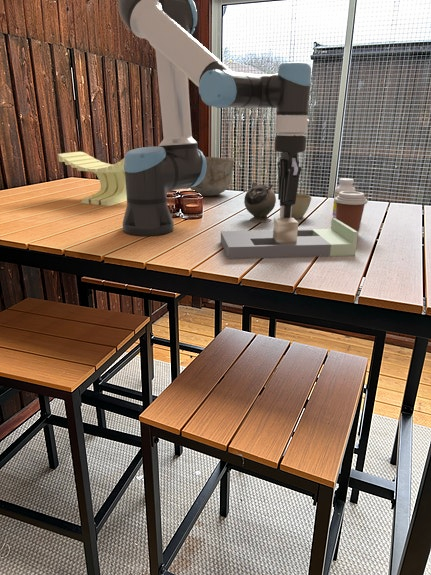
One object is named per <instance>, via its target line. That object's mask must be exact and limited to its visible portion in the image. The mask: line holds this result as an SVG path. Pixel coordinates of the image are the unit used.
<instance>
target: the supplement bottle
mask: <svg viewBox="0 0 431 575" xmlns="http://www.w3.org/2000/svg"><path fill="white" fill-rule="evenodd" d="M353 185H354V178H348V177H347V178H346V177H344V178H343V177H342V178H341V177H340V178H339V179H338V186H336V187H335V189H334V195H333V196H334V197H333V206H332V217H333V218H336V202H335V201H334V199H335V198H336V197H337V196H338V195H339V192H341V191H356V190H357V189H356V188H355V187H354V186H353ZM356 192H357V191H356Z"/></svg>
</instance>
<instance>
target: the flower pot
mask: <svg viewBox="0 0 431 575" xmlns="http://www.w3.org/2000/svg"><path fill="white" fill-rule="evenodd" d="M311 201H312V196H311V195H308V194H302V193H297V195H296V202H295V204H293V205H292V214H291V218H294V219H295V220H296V219H297V220H298V219H302V218H303V217H304V216H305V214H306V213H307V211H308V210H309V208H310V204H311Z"/></svg>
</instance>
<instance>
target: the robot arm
mask: <svg viewBox="0 0 431 575" xmlns="http://www.w3.org/2000/svg"><path fill="white" fill-rule="evenodd" d="M117 4H118V5H117V8H118V13H119V14H118V15H119V16H120V19H121V20H122V22H123V24H124V26H126V28H127V29H128V30H129V31H130V32H131V33H133V34H134V35H135V36H136V37H137V38H140V39H145V40H146V41H147V42H149V45H150V46H151V47H152V48H153V49H154V51H155V57H156V58H155V59H156V70H157V80H158V81H157V82H158V93H159V103H160V113H161V114H160V115H161V123H162V124H161V126H162V135H163V139H162V140H161V142H160V143H159V145H158V146H156V145H155V146H145V147H139V148H134V149H130V150H128V151H127V152H126V153H125V155H124V170H125V180H126V194H127V201H126V208H125V211H124V216H123V218H122V219H123V220H122V231H123V232H124V233H125V234H128V235H131V236H141V237H142V236H143V237H146V236H149V237H150V236H161V235H165V234H169V233H171V232H172V231H174V224H175V222H174V219H173V217H172V214H171V211H170V207H169V206H168V193H167V192H170V191H179V190H187V189H190V187H194V186H197V185H198V184H200V183H201V181H202V180H203V179H204V177H205V174H206V169H207V163H206V158H205V157H206V156H205V155H204V153H203V151H201V150H200V149H199V148H198V147H199V146H198V141H196V139H194V138H193V133H192V122H191V120H192V119H191V106H190V92H189V91H190V90H189V80H190V81H191V82H192V83H193V84H194V85H195V86H196V87H198V94H199V95H200V98H201V100H202V102H203V103H204V104H205V105H207V106H209V107H213V108H216V109H217V108H218V109H225V108H244V109H245V108H246V109H269V108H270V109H271V108H272V109H275V110H276V111H275V112H276V113H275V114H276V115H275V128H274V133H276V134H277V135H275V137H274V151H275V152H278V153H281V155H280V159H279V161H277V170H278V171H277V180H278V182H277V184H278V185H277V186H278V187H277V188H278V189H277V193H278V194H277V200H278V201H279V207H280V208H279V218H291V214H292V205H293V204H295V202H296V195H297V194H298V189H299V188H298V186H299V183H300V182H299V180H300V176H301V172H302V167H301V166H300V160H299V155H298V154H299V153H303V152H305V151H306V147H307V146H306V145H307V136H306V135H305V134H306V133H307V131H308V125H309V124H310V119H309V116H308V115H309V104H310V95H311V94H310V93H311V87H312V83H311V82H312V68H311V66H310V64H309V63H307V62H301V61H299V62H298V61H295V62H293V61H292V62H291V61H290V62H289V61H288V62H283V63H281V64H280V65H279V66H278V71H277V73H273V74H269V73H268V74H257V73H256V74H255V73H246V72H240V71H238V72H237V71H234V70H231V69H230V68H229V67H228V66H227V65H226V64H224V63H223V62H222V61H221V60H220V59H219V58H218V57H216V56H215V55H214V54H213V53H211V52H210V51H209V50H208V48H206V47H205V46H203V44H202V43H200V42H199V40H197V39H196V38H195V37H193V34H194V32H195V30H196V28H195V27H197V24H198V10H197V6H196V3H195V1H194V0H118V3H117Z"/></svg>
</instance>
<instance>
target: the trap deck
mask: <svg viewBox="0 0 431 575" xmlns="http://www.w3.org/2000/svg"><path fill="white" fill-rule="evenodd" d="M358 235H359V232H357V231H356V230H354V229H352V228H351V227H349V226H347V225H346V224H344V223H343V222H341V221H339V220H338V219H336V218H334V217H333V218H332V217H331V226H330V228H311V229H310V228H307V229H306V228H305V229H298V232H297V242H276V240H275V239H274V238H273V229H265V230H264V229H261V230H257V229H256V230H221V231H220V244H221V246H222V248H223V251H224V253H225V255H226V257H227V259H228V260H239V259H242V260H244V259H276V258H277V259H279V258H310V257H311V258H313V257H315V258H316V257H345V256H356V250H357V242H358Z"/></svg>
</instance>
